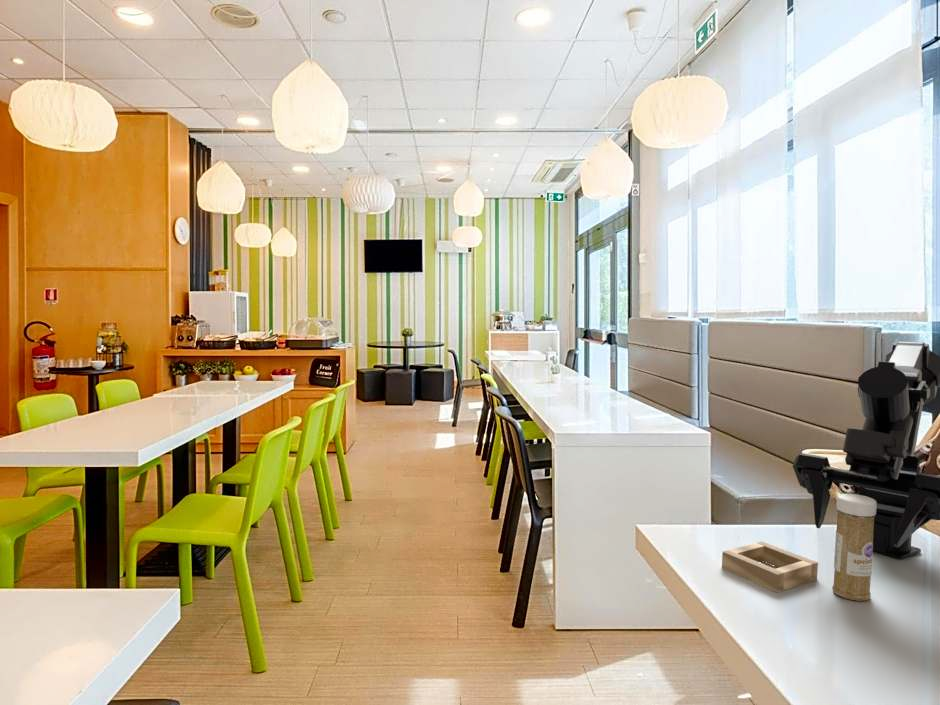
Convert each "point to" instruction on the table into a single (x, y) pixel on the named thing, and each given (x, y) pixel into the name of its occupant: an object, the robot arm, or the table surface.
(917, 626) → the table surface
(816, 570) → the block
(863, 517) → the sprinkles bottle
